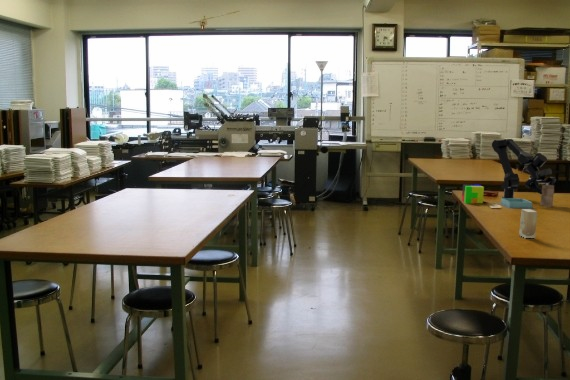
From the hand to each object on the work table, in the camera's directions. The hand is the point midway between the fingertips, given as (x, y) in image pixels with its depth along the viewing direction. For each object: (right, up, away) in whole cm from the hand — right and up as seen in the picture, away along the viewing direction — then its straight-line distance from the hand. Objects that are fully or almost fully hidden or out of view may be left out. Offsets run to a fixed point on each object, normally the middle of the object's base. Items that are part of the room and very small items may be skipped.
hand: (547, 193), depth 324 cm
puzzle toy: (-39, -6, +13) cm, 42 cm away
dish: (-18, -7, 0) cm, 20 cm away
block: (0, -8, +1) cm, 8 cm away
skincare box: (-45, -19, -78) cm, 92 cm away
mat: (-18, -8, 0) cm, 20 cm away
